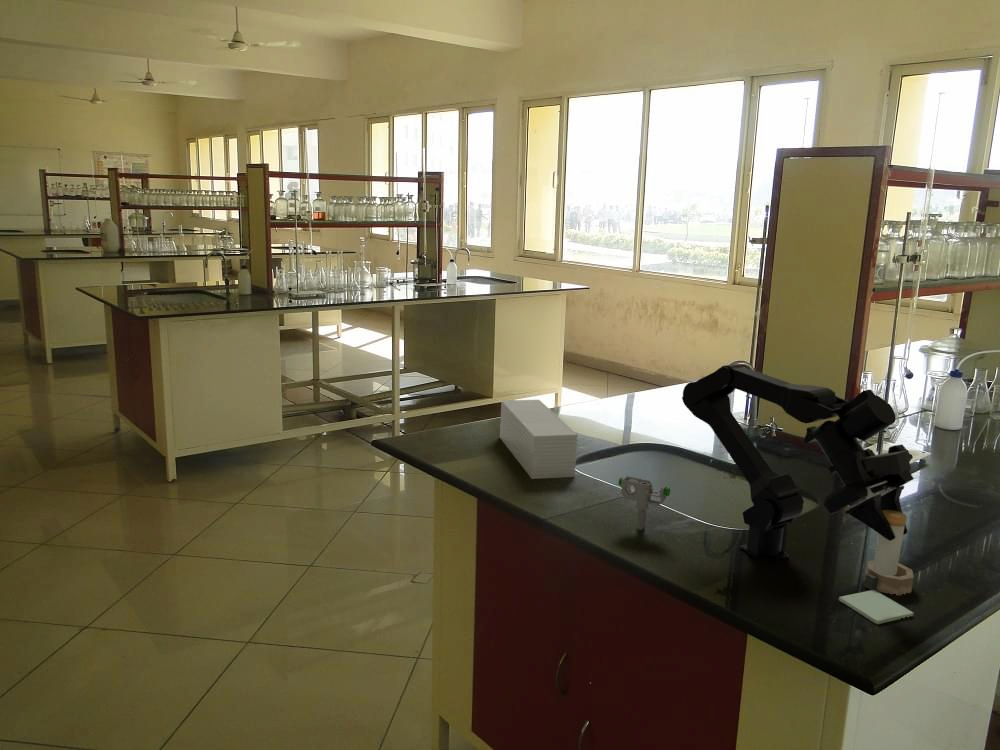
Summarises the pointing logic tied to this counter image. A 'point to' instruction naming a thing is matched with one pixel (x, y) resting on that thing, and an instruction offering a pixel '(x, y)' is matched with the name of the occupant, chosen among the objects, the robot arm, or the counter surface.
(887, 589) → the beige hollow ring
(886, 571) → the bottle with orange cap
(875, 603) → the mat
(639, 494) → the mechanical component
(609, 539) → the counter surface
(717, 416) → the robot arm
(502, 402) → the stack of papers
